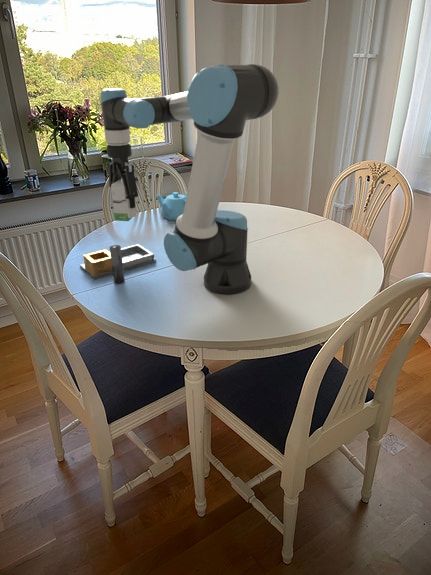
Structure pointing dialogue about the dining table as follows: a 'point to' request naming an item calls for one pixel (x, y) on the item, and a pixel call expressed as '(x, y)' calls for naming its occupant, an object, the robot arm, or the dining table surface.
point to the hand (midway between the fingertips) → (125, 213)
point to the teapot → (172, 205)
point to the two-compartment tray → (101, 263)
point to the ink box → (120, 201)
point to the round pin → (117, 264)
